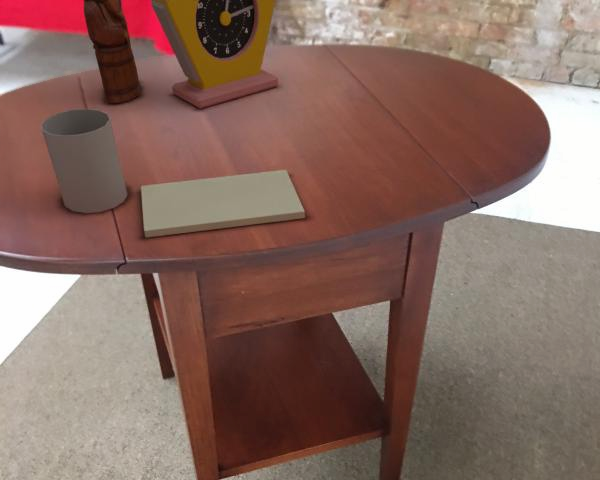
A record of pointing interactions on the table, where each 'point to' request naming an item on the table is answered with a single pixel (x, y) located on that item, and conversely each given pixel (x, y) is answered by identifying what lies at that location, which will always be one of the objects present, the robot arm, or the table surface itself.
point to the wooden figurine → (112, 49)
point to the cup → (85, 159)
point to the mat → (219, 203)
